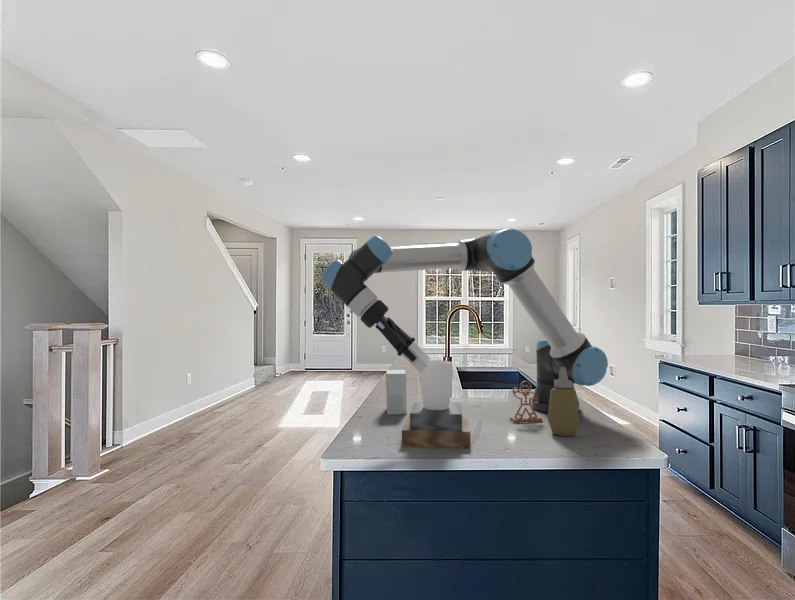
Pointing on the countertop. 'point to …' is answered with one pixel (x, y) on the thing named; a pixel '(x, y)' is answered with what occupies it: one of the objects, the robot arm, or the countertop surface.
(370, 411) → the countertop surface
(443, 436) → the stepped display pedestal
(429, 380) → the cup
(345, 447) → the countertop surface
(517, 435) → the countertop surface
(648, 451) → the countertop surface
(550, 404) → the squeeze bottle
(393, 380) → the small box
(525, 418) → the gingerbread man figurine
